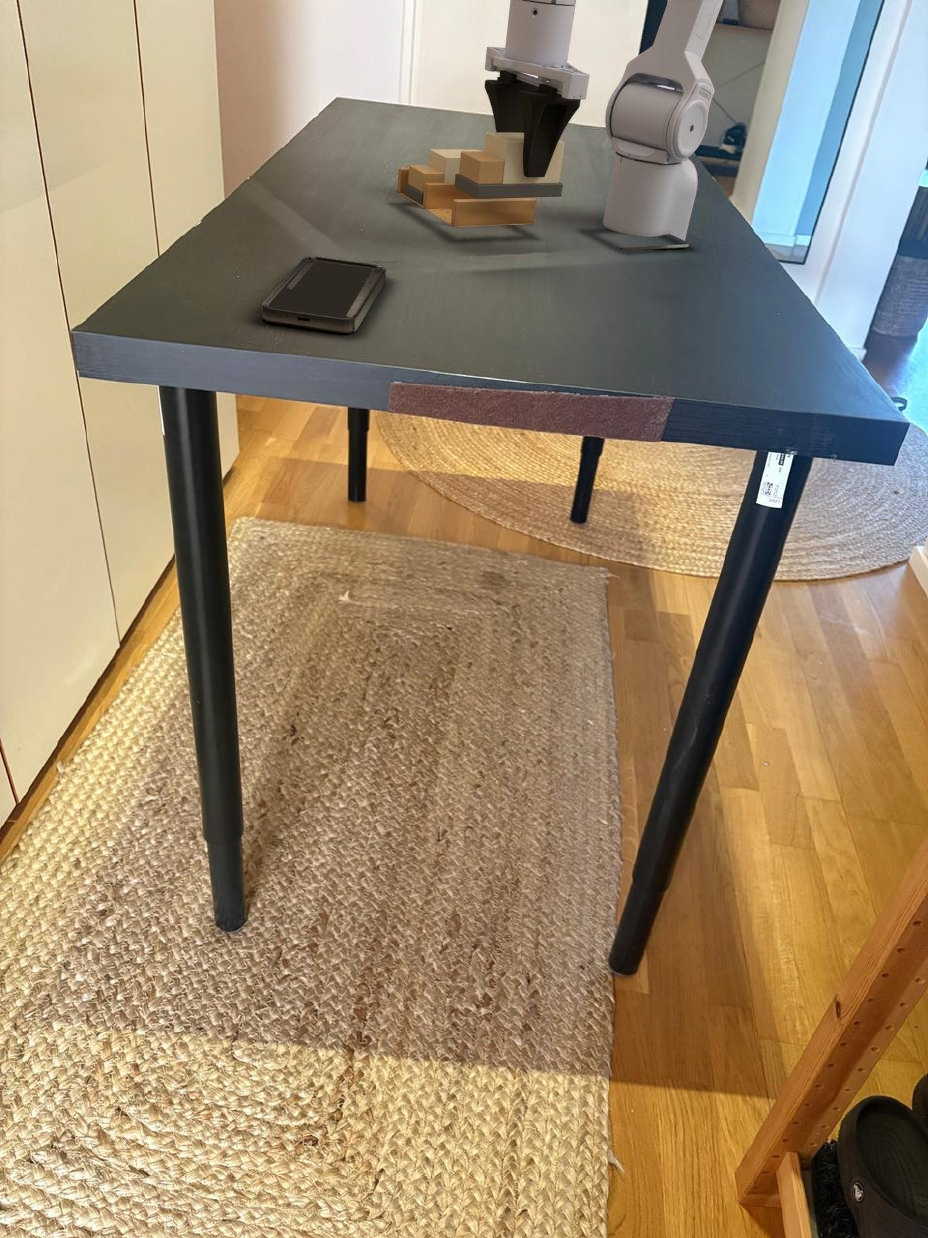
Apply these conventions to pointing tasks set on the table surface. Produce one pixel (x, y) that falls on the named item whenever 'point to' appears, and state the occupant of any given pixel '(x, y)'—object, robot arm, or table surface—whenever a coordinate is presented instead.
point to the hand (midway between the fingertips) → (521, 170)
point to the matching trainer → (433, 172)
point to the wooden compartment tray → (470, 205)
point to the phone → (325, 295)
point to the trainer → (506, 170)
